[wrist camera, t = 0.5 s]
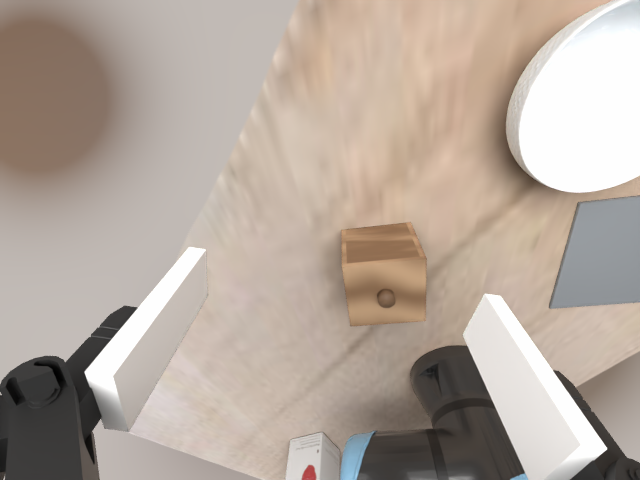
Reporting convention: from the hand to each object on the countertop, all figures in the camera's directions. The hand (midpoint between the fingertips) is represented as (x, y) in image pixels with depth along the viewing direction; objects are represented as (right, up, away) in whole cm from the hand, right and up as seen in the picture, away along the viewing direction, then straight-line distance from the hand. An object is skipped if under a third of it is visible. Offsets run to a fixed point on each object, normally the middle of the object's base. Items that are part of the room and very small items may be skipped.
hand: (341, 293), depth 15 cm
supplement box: (-2, -46, +59) cm, 75 cm away
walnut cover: (+8, 0, +31) cm, 32 cm away
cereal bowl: (+26, +18, +19) cm, 38 cm away
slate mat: (+41, 0, +29) cm, 50 cm away
